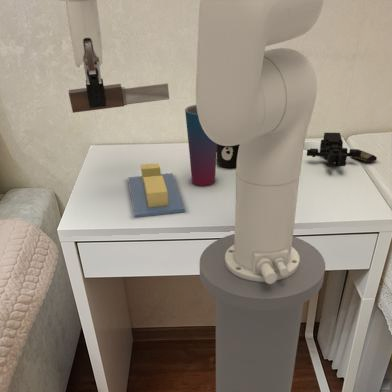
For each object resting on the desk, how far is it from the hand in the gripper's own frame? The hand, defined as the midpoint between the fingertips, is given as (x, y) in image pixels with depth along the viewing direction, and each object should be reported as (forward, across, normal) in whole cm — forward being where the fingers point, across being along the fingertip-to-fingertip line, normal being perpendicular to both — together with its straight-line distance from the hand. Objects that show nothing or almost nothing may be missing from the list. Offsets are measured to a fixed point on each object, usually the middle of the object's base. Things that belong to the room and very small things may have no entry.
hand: (97, 103), depth 96 cm
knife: (+1, 0, +5) cm, 5 cm away
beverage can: (+18, -8, +28) cm, 34 cm away
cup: (+18, 0, +20) cm, 27 cm away
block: (+18, -3, +59) cm, 62 cm away
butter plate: (+18, +5, +9) cm, 20 cm away
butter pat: (+17, -2, +9) cm, 19 cm away
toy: (+16, +5, +49) cm, 52 cm away
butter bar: (+17, +8, +9) cm, 21 cm away
